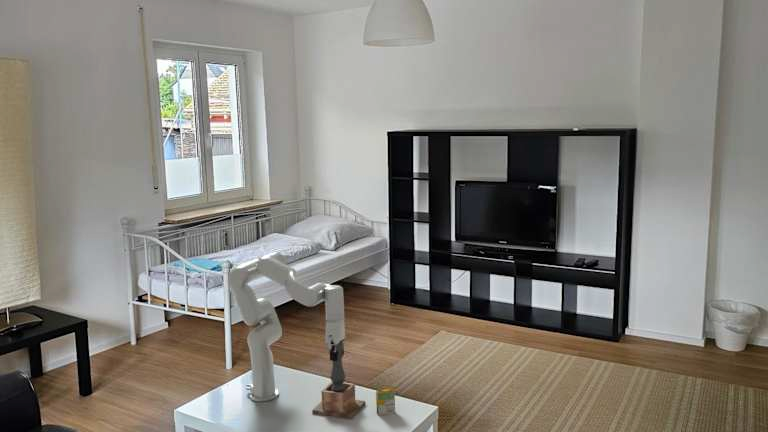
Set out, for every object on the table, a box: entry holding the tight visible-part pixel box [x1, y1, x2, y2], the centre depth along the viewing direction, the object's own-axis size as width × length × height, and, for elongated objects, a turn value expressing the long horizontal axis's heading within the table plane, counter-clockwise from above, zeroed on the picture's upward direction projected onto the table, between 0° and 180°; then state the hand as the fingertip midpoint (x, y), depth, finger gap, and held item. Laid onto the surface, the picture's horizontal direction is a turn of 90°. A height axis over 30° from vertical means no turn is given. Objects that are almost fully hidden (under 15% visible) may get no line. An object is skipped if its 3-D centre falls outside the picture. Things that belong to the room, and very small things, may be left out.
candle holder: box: [330, 340, 346, 393], centre depth 262 cm, size 6×6×25 cm
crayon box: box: [375, 386, 396, 416], centre depth 259 cm, size 7×3×12 cm, turn 106°
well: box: [311, 381, 366, 420], centre depth 264 cm, size 18×14×10 cm
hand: (337, 357), depth 261 cm, fingers closed on candle holder, 5 cm apart
